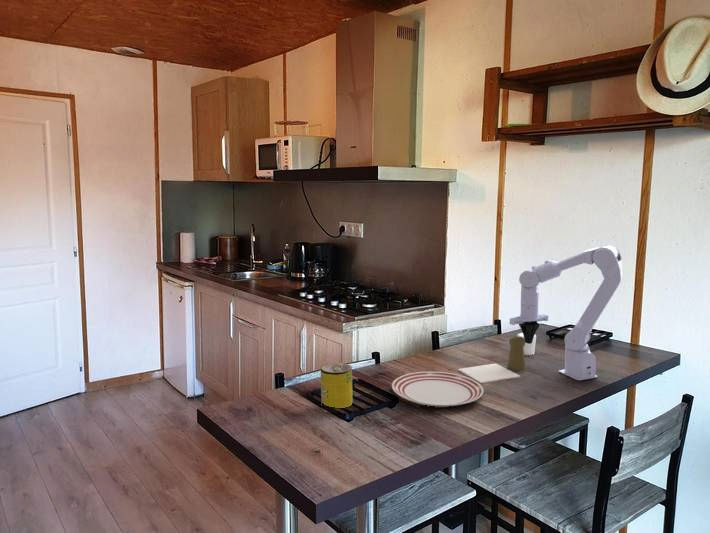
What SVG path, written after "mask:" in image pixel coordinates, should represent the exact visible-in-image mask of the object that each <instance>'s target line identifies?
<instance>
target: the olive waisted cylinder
mask: <svg viewBox="0 0 710 533" xmlns="http://www.w3.org/2000/svg"><path fill="white" fill-rule="evenodd" d="M509 346H510V349H509V350H510V351H509V356H508V361H507V369H508V370H510V371H512V372H513V371H514V372H523V371H525V370H526V369H527V368H526V360H525V358H526V357H525V355H524V349H523V347H524V346H525V340H524V338H522V337H518V336H511V337H510V338H509Z"/></svg>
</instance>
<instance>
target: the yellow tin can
mask: <svg viewBox="0 0 710 533" xmlns="http://www.w3.org/2000/svg"><path fill="white" fill-rule="evenodd" d="M352 369H353V368H352V365H350V364H349V363H345V362H331V363H326V364H323V365H321V367H320V391H321V392H320V393H321V394H320V396H321V397H320V398H321V404H322V403H323V404H324V405H326V406H329V407H335V408H345V407H349V406H351V405H352V403H354V401H353V373H352V372H353V370H352Z"/></svg>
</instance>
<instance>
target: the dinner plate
mask: <svg viewBox="0 0 710 533" xmlns="http://www.w3.org/2000/svg"><path fill="white" fill-rule="evenodd" d="M391 388H392V391H393V392H394V394H396V395H397V396H399V398H400V397H401V398H402V399H404V400H406V401H409V402H411V403H414V404H417V405H422V406H425V405H427V406H426V407H430V406H435V407H434V408H450V407H449V406H451V407H455V406H456V407H457V406H461V405H465V404H469V403H472V402H475V401H477V400H479V399H480V398H481V397H483V394H484V388H483V386H482V385H481V383H479V382H477V381H476V380H474V379H472V378H470V377H469V376H466V375H465V376H464V375H462V374H457V373H452V372H445V371H418V372H417V371H416V372H410V373H406V374H404V375H401V376H398V377H396V378H395V379H394V380H393V381H392V384H391Z"/></svg>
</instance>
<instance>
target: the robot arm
mask: <svg viewBox="0 0 710 533" xmlns="http://www.w3.org/2000/svg"><path fill="white" fill-rule="evenodd" d="M622 263H623V258H622V255H621V253H620V250H619V249H618V247H616V246H614V245H612V244H606V245H602V246H601V247H600V246H599V247H594V248H590V249H586V250H583V251H581V252H579V253H577V254H574V255H572V256H570V257H567V258H564V259H563V260H561V261H556V260H553V259H552V260H550V259H547V260H545V261H544V263H543V264H540V265H537V266H536V265H534V266H532V267H531V268H530V269H527V270H524V271H523V272H521V273H520V275H519V278H518V279H519V280H518V281H519V284H520V285H521V286H520V289H521V291H520V315H519V316H515V317H511V318H509V325H512V326H515V325H518V326H519V327H520V330H521V331H522V332H521V333H523V335H524V339H525V343H528V344H531V343H532V341H533V338H534V335H536V332H537V330H538V329H539V328H540V323H539V322H548V321H549V315H548V314H539V284H541V283H542V284H543V283H545V282H548V281H551V280H553V279H555V278H558V277H560V276H561V274H562V272H563V271H565V270H568V269H571V268H575V267H576V266H580V265H583V264H587V265H595V266H596V267H597V268H598V269H599V271H601V274H602V277H603V281H602V282H601V284H600V285H599V287H598V289H597V290H596V292H595V293H594V295H593V297H592V298H591V300H590V302H589V304H588V305H587V307H586V308H585V310H584V312H583V313H582V315H581V317H580V319H579V320H577V323H576V324H575V326H573V327H572V329H571V330H570V331H568V332H566V334H565V336H564V339H563V341H564V344H565V347H564V348H565V351H564V353H565V355H564V369H560V370H558V372H559V373H561V374H563V375H564V376H565V375H566V376H568V377H570V378H571V379H573V380H576V381H585V380H589V379H590V380H591V379H594V378H598V375H597V357H596V355H595V354H593V353H592V352H591V350H590V346H589V345H588V342H589V341H590V339H591V332H592V330H593V329H594V326H595V325H596V323H597V322H598V320H599V318H600V316H601V314H603V312H604V310H605V308H606V307H607V305H608V304H609V302H610V301H611V299H612V297H613V295H615V294H614V293H615V292H616V290H617V289H618V288H619V286H620V284H621V282H622V281H623V278H624V277H623V276H624V275H623V264H622Z"/></svg>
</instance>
